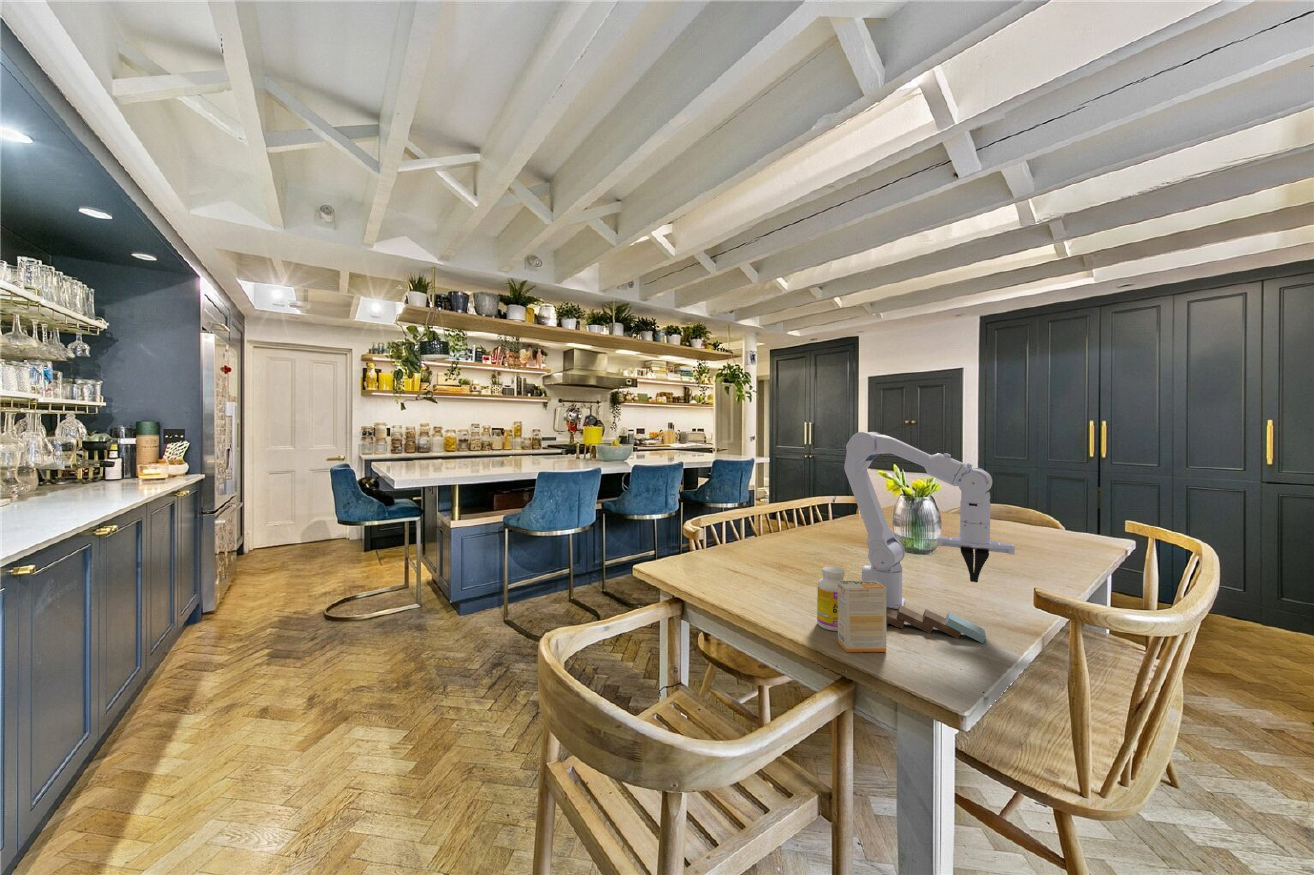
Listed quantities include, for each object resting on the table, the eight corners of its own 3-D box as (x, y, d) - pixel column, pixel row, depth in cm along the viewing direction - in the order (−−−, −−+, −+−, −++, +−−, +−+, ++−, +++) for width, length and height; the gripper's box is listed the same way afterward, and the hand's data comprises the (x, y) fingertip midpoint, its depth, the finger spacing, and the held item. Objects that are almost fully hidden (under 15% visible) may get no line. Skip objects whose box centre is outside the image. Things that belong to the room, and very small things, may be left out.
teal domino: (982, 643, 98) (946, 624, 101) (981, 635, 101) (945, 617, 105) (986, 636, 97) (949, 618, 101) (984, 629, 101) (948, 611, 104)
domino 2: (930, 633, 103) (896, 617, 106) (930, 626, 106) (897, 611, 110) (933, 627, 102) (899, 611, 106) (932, 619, 106) (899, 604, 109)
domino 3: (958, 638, 100) (922, 622, 103) (957, 631, 104) (922, 615, 107) (961, 632, 100) (925, 615, 103) (960, 624, 104) (925, 609, 107)
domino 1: (902, 628, 105) (869, 615, 107) (900, 620, 109) (868, 607, 111) (904, 622, 105) (871, 609, 107) (902, 614, 109) (871, 601, 111)
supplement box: (875, 642, 99) (876, 579, 98) (887, 652, 94) (887, 587, 93) (836, 642, 99) (836, 579, 98) (845, 652, 94) (846, 587, 93)
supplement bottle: (832, 634, 102) (832, 575, 102) (810, 622, 108) (811, 567, 108) (855, 629, 105) (855, 571, 105) (833, 618, 111) (833, 563, 111)
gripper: (937, 521, 108) (936, 580, 108) (1016, 528, 101) (1015, 591, 101) (938, 516, 114) (937, 572, 114) (1012, 522, 107) (1011, 582, 107)
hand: (973, 580), depth 108 cm, fingers closed
